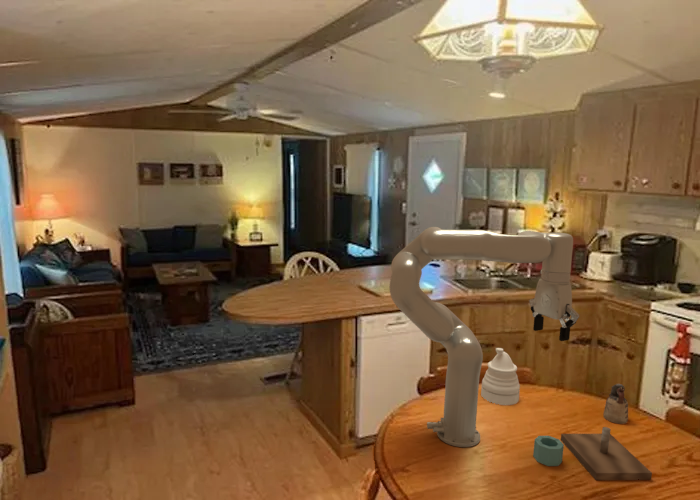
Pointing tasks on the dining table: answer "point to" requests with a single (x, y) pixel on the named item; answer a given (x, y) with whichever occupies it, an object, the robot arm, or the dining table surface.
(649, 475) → the rod stand
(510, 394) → the honey pot
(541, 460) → the bead
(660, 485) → the dining table surface
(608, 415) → the figurine
